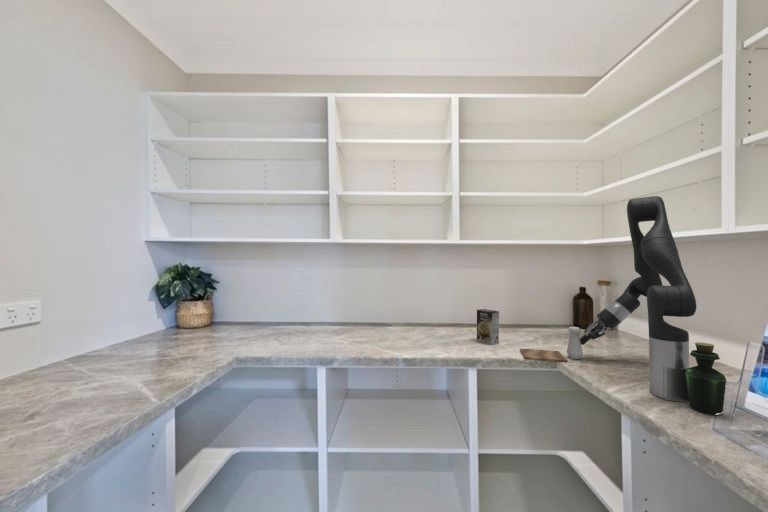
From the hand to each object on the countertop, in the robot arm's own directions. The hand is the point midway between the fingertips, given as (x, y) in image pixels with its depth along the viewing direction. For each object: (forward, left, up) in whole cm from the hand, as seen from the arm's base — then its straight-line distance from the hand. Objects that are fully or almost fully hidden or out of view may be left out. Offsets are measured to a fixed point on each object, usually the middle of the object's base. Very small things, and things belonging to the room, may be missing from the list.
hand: (579, 343), depth 137 cm
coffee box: (+18, +36, -7) cm, 41 cm away
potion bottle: (-44, -18, -7) cm, 48 cm away
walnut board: (0, +14, -6) cm, 16 cm away
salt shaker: (0, +2, -7) cm, 7 cm away
